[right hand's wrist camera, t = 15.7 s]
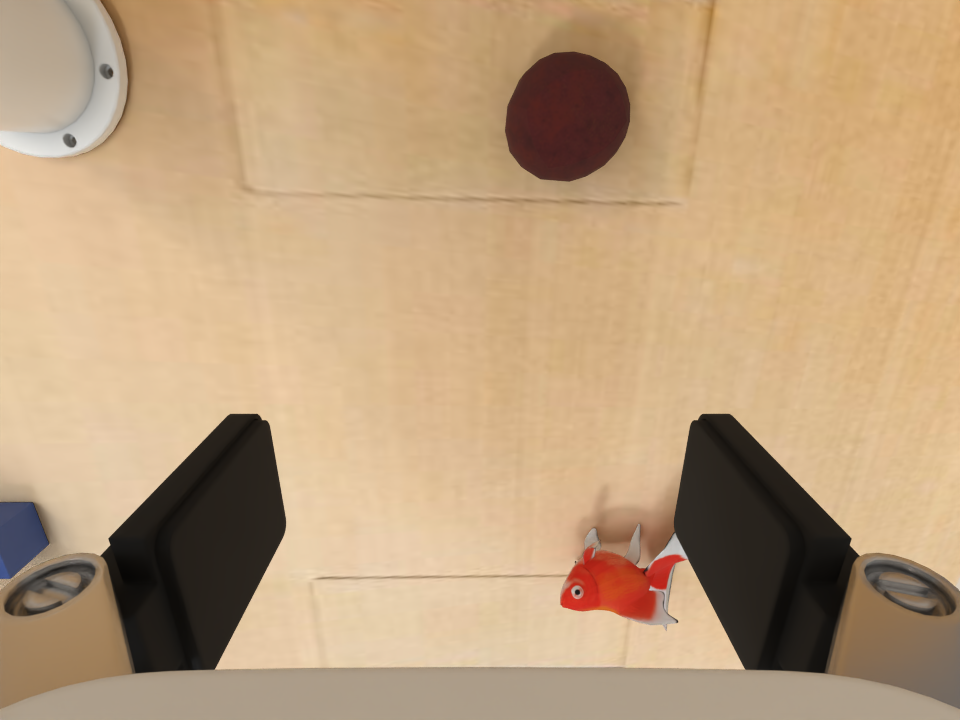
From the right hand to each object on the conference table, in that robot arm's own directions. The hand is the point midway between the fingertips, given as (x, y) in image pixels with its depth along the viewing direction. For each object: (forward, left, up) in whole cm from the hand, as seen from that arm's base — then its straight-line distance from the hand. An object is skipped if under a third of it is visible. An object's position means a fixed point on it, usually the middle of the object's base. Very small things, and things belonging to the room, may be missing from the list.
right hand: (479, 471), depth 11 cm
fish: (+30, +5, -30) cm, 43 cm away
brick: (+10, -50, -30) cm, 59 cm away
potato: (-7, +8, -30) cm, 31 cm away
